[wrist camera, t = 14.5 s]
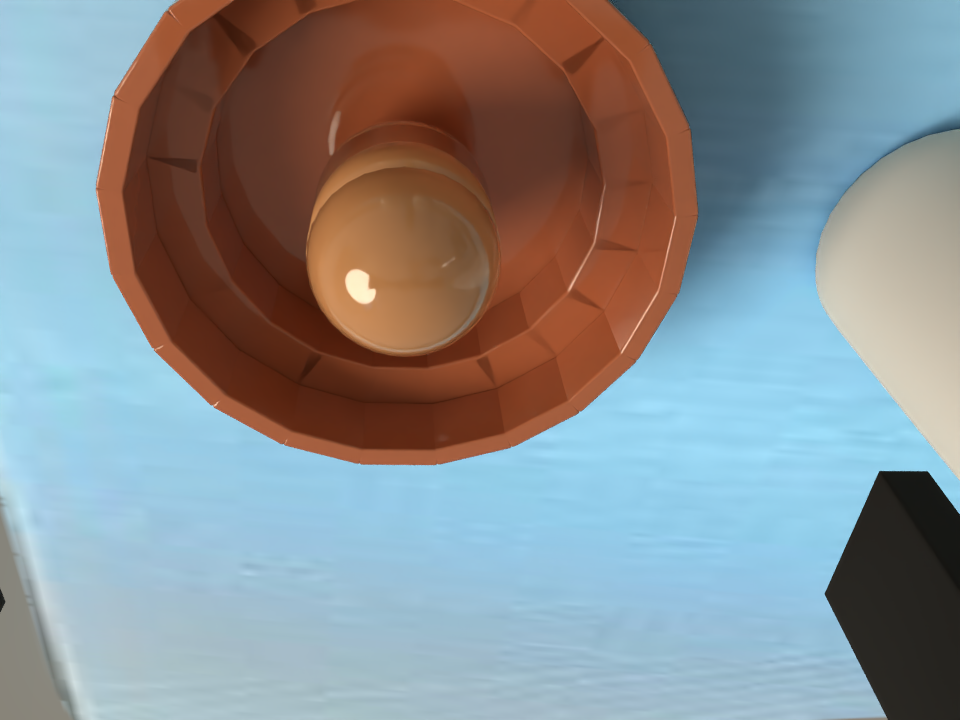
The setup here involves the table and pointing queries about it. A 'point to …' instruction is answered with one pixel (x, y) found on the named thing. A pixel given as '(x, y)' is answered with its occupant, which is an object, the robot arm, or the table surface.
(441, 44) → the bowl
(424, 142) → the brown egg
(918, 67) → the table surface
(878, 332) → the milk bottle
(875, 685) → the robot arm
